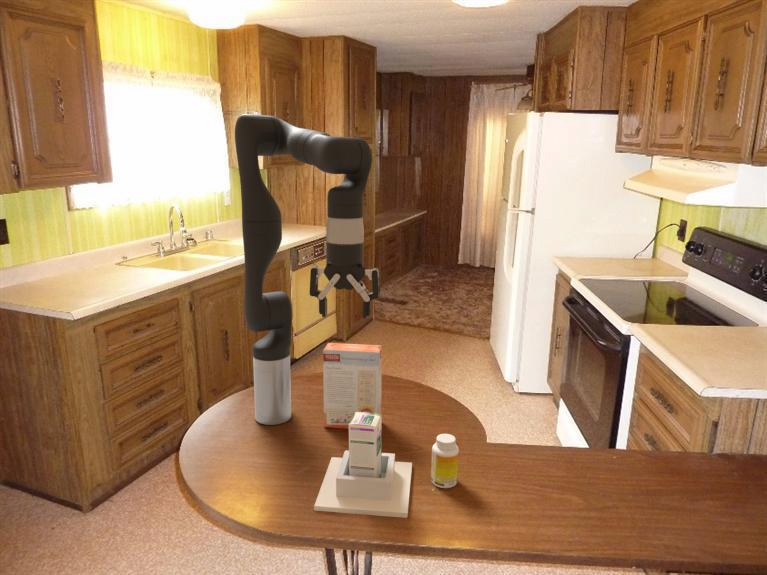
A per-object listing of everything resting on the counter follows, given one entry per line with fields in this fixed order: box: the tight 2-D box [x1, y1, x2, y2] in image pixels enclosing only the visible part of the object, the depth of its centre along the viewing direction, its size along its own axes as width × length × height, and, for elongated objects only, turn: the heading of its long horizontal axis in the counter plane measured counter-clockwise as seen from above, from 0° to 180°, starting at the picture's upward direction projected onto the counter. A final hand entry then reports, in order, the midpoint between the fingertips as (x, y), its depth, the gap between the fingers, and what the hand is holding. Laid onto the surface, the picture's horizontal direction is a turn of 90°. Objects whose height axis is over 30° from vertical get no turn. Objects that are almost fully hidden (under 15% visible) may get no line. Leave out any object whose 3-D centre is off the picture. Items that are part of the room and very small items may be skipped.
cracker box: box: [322, 342, 383, 430], centre depth 141 cm, size 14×6×21 cm, turn 83°
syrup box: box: [348, 412, 383, 478], centre depth 115 cm, size 6×6×14 cm
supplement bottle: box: [430, 433, 460, 489], centre depth 118 cm, size 6×6×10 cm
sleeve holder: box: [313, 449, 413, 519], centre depth 116 cm, size 18×18×5 cm
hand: (344, 317), depth 117 cm, fingers open, 8 cm apart
